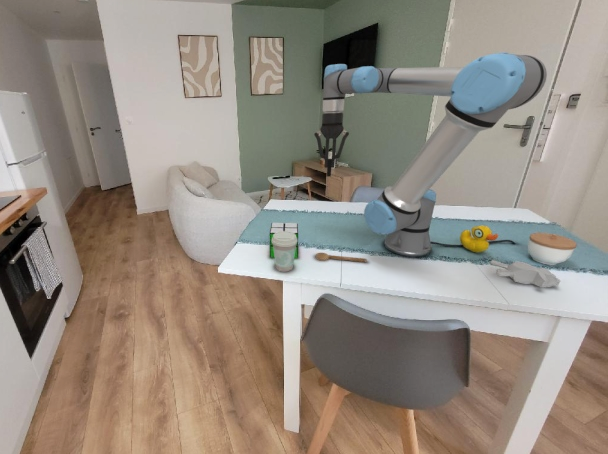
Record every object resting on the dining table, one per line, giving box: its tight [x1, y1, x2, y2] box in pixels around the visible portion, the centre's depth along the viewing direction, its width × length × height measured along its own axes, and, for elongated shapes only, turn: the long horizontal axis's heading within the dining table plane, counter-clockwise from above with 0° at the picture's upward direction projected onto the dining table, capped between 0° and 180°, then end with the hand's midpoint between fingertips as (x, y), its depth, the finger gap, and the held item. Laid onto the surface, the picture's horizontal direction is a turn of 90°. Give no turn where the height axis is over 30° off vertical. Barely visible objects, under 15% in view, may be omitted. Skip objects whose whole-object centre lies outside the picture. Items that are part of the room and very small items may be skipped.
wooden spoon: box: [315, 252, 368, 263], centre depth 102 cm, size 17×4×1 cm, turn 73°
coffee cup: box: [272, 231, 299, 273], centre depth 97 cm, size 8×9×12 cm
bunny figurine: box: [489, 259, 561, 288], centre depth 86 cm, size 10×5×15 cm
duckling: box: [459, 225, 499, 253], centre depth 102 cm, size 11×5×10 cm, turn 17°
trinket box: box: [527, 232, 578, 266], centre depth 94 cm, size 11×11×9 cm
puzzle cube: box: [269, 222, 299, 259], centre depth 108 cm, size 10×10×10 cm
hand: (328, 175), depth 116 cm, fingers closed
